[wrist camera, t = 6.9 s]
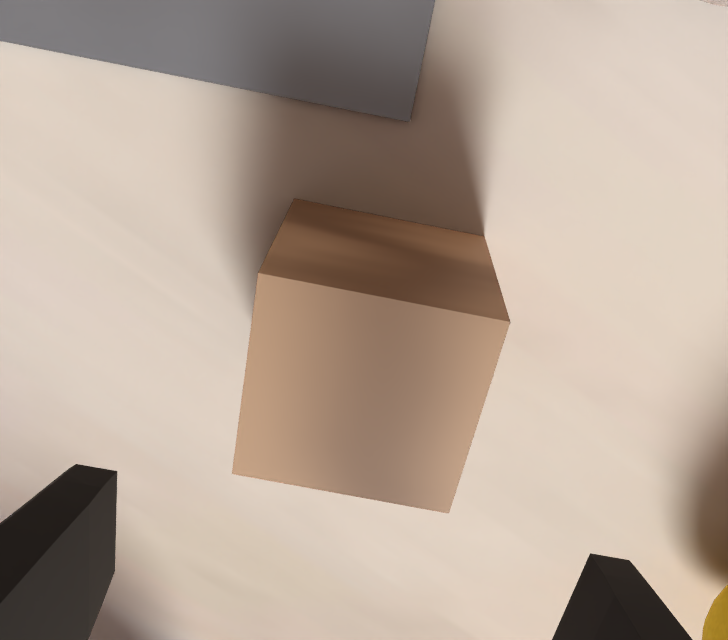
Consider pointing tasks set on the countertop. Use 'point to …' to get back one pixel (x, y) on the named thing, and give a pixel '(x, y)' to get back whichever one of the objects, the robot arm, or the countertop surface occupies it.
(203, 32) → the letter card
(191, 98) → the countertop surface
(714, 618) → the lemon
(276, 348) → the walnut cube
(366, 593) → the countertop surface
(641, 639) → the robot arm
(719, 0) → the grey jar
